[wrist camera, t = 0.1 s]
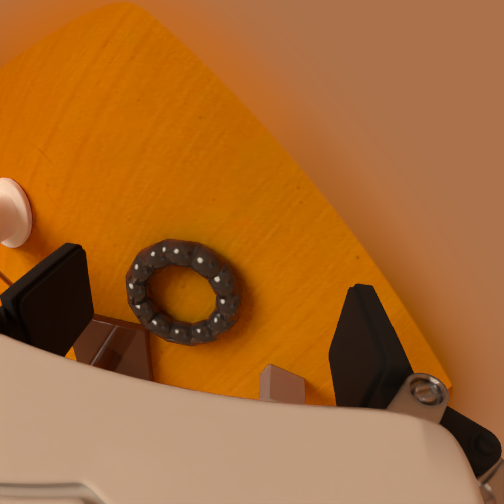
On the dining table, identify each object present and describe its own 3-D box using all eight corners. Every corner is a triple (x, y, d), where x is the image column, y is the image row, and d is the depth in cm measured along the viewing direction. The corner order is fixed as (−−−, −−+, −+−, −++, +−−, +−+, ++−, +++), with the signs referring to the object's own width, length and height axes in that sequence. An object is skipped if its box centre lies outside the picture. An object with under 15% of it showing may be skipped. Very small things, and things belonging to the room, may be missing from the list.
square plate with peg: (68, 307, 28) (9, 378, 18) (148, 325, 28) (101, 415, 18) (84, 369, 32) (43, 438, 22) (154, 388, 32) (124, 469, 22)
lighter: (259, 374, 30) (255, 441, 22) (269, 363, 29) (266, 431, 22) (318, 397, 31) (324, 460, 23) (328, 388, 30) (337, 452, 23)
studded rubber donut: (129, 229, 24) (118, 238, 23) (248, 245, 24) (246, 256, 22) (135, 325, 28) (128, 338, 26) (236, 343, 28) (234, 357, 26)
